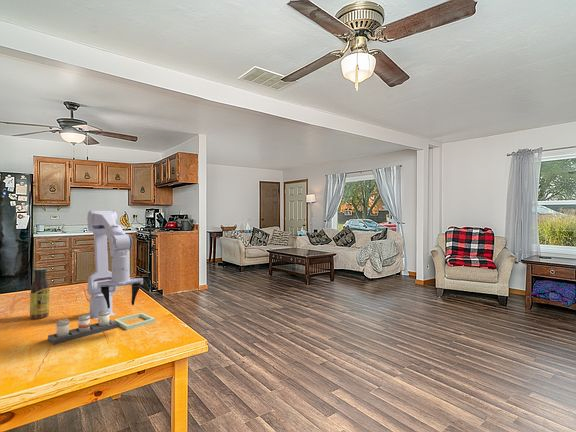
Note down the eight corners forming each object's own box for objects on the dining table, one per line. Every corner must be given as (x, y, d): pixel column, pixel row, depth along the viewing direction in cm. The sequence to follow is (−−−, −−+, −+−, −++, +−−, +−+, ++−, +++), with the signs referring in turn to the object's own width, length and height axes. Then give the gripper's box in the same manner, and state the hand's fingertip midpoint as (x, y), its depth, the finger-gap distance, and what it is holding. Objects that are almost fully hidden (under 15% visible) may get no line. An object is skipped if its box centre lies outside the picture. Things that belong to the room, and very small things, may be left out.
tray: (113, 324, 124) (113, 319, 124) (141, 317, 133) (141, 312, 133) (126, 331, 117) (126, 326, 117) (155, 323, 126) (155, 318, 126)
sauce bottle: (38, 320, 128) (37, 270, 128) (25, 319, 129) (25, 270, 129) (53, 314, 135) (53, 267, 134) (41, 313, 136) (40, 267, 135)
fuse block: (47, 340, 109) (47, 335, 109) (110, 324, 124) (110, 319, 124) (53, 346, 104) (53, 340, 104) (117, 329, 120) (117, 323, 120)
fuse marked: (76, 333, 114) (76, 316, 114) (88, 330, 117) (87, 314, 117) (80, 335, 112) (80, 318, 112) (91, 332, 115) (91, 316, 114)
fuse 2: (96, 328, 119) (96, 312, 119) (107, 325, 122) (107, 309, 122) (100, 330, 117) (100, 314, 117) (111, 327, 120) (111, 311, 119)
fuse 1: (54, 338, 109) (54, 321, 109) (67, 335, 112) (67, 318, 112) (58, 341, 107) (58, 324, 107) (70, 338, 110) (70, 321, 109)
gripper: (97, 272, 108) (97, 312, 108) (144, 268, 115) (144, 306, 116) (97, 268, 114) (97, 306, 114) (141, 265, 121) (142, 300, 122)
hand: (120, 305), depth 115 cm, fingers open, 7 cm apart
